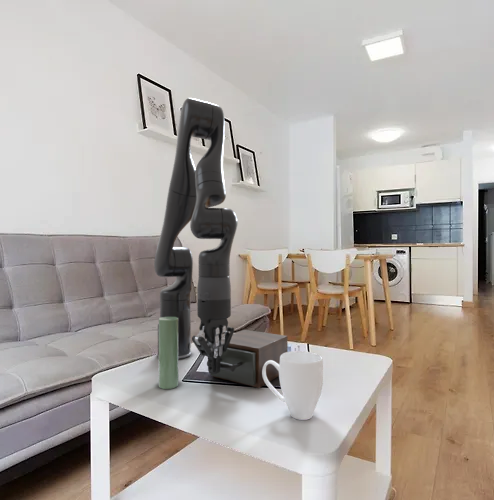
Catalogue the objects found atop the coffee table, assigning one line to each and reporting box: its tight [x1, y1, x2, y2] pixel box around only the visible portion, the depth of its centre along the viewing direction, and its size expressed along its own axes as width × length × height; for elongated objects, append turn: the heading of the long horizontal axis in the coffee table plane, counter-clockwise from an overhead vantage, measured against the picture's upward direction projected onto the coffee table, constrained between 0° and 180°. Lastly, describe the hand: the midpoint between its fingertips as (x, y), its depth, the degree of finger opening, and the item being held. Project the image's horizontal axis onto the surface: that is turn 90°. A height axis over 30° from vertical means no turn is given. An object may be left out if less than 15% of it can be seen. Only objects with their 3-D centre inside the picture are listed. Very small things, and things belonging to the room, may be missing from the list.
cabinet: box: [212, 329, 289, 389], centre depth 95 cm, size 15×14×9 cm
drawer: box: [206, 347, 256, 387], centre depth 91 cm, size 18×13×7 cm
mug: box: [262, 350, 324, 421], centre depth 72 cm, size 12×8×11 cm
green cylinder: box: [158, 317, 179, 390], centre depth 86 cm, size 5×5×16 cm
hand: (214, 372), depth 82 cm, fingers closed
